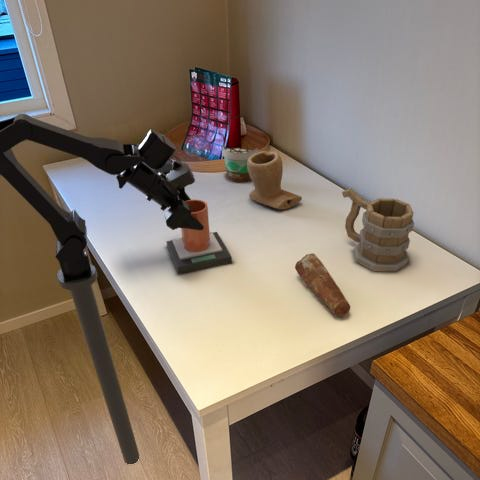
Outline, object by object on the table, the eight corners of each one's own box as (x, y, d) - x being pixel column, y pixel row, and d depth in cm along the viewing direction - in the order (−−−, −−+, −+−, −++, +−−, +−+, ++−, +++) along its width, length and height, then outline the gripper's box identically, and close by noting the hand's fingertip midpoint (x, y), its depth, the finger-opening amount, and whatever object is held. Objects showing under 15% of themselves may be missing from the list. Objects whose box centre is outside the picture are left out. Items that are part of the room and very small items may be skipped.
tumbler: (179, 250, 124) (174, 211, 116) (188, 236, 129) (184, 198, 122) (205, 253, 122) (202, 214, 115) (213, 239, 127) (211, 201, 120)
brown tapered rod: (316, 269, 120) (318, 250, 117) (353, 316, 107) (357, 296, 103) (292, 274, 119) (294, 255, 115) (327, 322, 105) (330, 303, 102)
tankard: (416, 258, 123) (429, 204, 113) (385, 278, 117) (397, 223, 107) (353, 228, 135) (361, 177, 125) (323, 245, 129) (328, 193, 119)
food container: (217, 181, 159) (216, 151, 153) (223, 173, 164) (222, 144, 157) (254, 185, 156) (253, 155, 150) (259, 177, 161) (259, 147, 154)
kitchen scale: (178, 274, 120) (177, 265, 118) (167, 247, 130) (165, 239, 128) (231, 263, 123) (231, 254, 122) (217, 237, 133) (216, 229, 131)
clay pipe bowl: (239, 201, 148) (238, 153, 138) (265, 188, 154) (266, 142, 145) (276, 218, 140) (278, 168, 130) (302, 204, 146) (306, 155, 136)
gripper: (175, 173, 102) (228, 214, 111) (167, 141, 116) (215, 179, 125) (143, 211, 106) (197, 247, 115) (139, 175, 120) (187, 210, 129)
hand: (200, 219), depth 121 cm, fingers open, 9 cm apart
